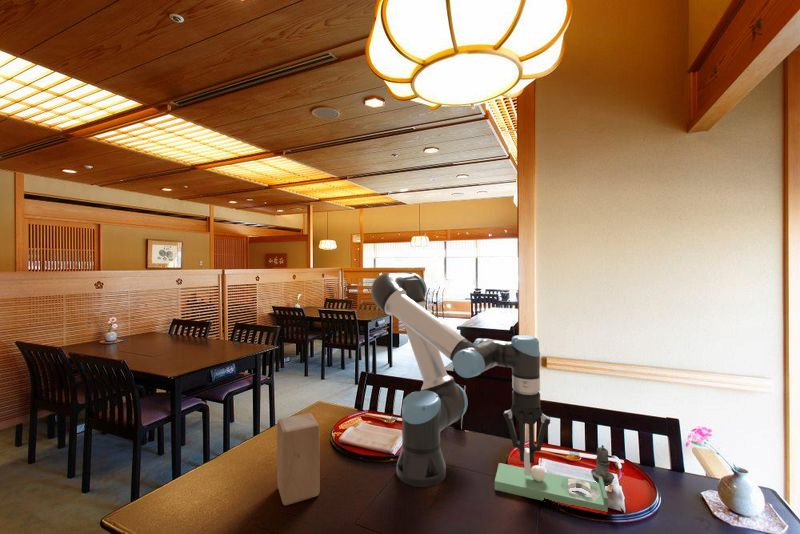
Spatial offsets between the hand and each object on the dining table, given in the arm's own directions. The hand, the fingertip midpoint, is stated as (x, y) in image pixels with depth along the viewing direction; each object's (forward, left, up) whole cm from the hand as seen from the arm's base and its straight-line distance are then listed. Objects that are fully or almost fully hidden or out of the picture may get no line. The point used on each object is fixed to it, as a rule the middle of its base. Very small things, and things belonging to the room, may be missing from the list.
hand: (527, 472), depth 103 cm
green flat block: (+6, 0, -4) cm, 7 cm away
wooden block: (-59, -27, -4) cm, 65 cm away
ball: (+3, 0, 0) cm, 3 cm away
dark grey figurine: (+20, +9, -4) cm, 22 cm away
